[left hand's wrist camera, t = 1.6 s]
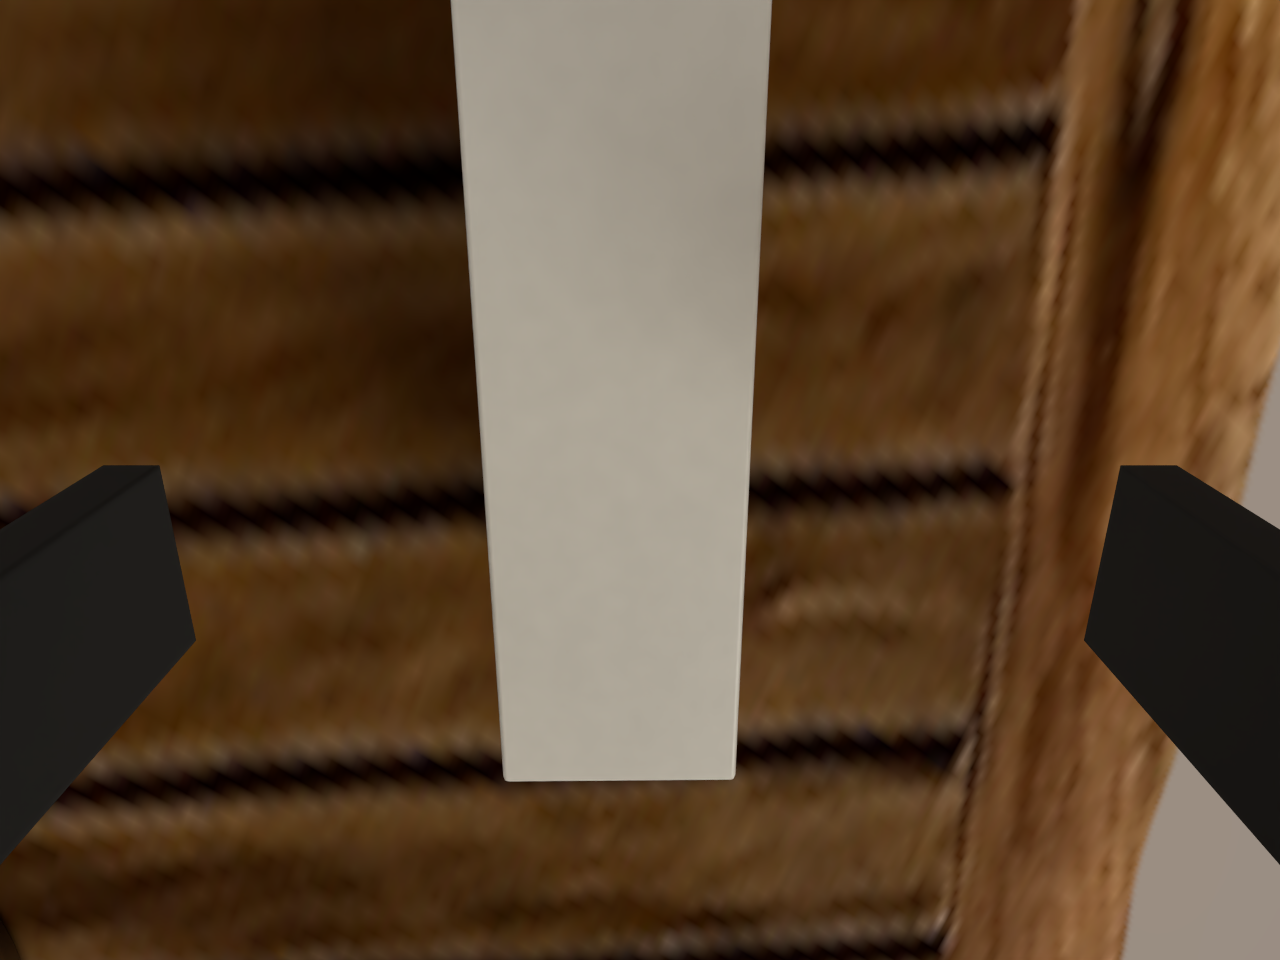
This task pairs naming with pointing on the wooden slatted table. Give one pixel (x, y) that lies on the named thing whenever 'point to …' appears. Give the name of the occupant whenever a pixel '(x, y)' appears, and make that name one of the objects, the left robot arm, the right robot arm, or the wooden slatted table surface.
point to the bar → (615, 368)
